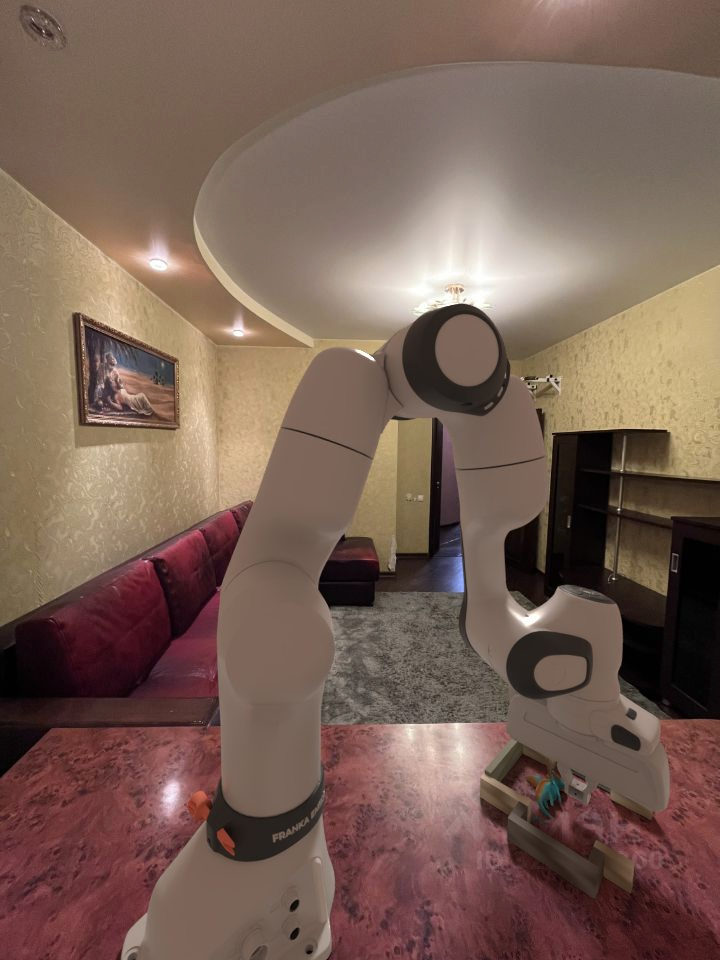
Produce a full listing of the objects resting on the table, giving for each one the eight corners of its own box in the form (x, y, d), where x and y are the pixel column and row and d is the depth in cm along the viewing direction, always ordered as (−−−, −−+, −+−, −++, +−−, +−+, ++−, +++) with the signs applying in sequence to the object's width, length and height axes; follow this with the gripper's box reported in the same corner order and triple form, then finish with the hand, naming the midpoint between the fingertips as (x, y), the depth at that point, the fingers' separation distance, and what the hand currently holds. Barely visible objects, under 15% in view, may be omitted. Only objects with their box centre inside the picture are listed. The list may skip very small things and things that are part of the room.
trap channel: (657, 799, 60) (658, 777, 60) (623, 919, 44) (625, 889, 44) (528, 736, 73) (528, 717, 73) (467, 811, 58) (468, 788, 57)
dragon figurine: (594, 831, 54) (575, 767, 61) (544, 812, 54) (531, 750, 61) (565, 850, 57) (550, 787, 64) (518, 832, 57) (508, 770, 64)
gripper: (500, 681, 61) (497, 768, 62) (668, 752, 47) (661, 862, 48) (517, 666, 66) (514, 747, 67) (675, 726, 52) (669, 828, 53)
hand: (577, 796), depth 57 cm, fingers closed
